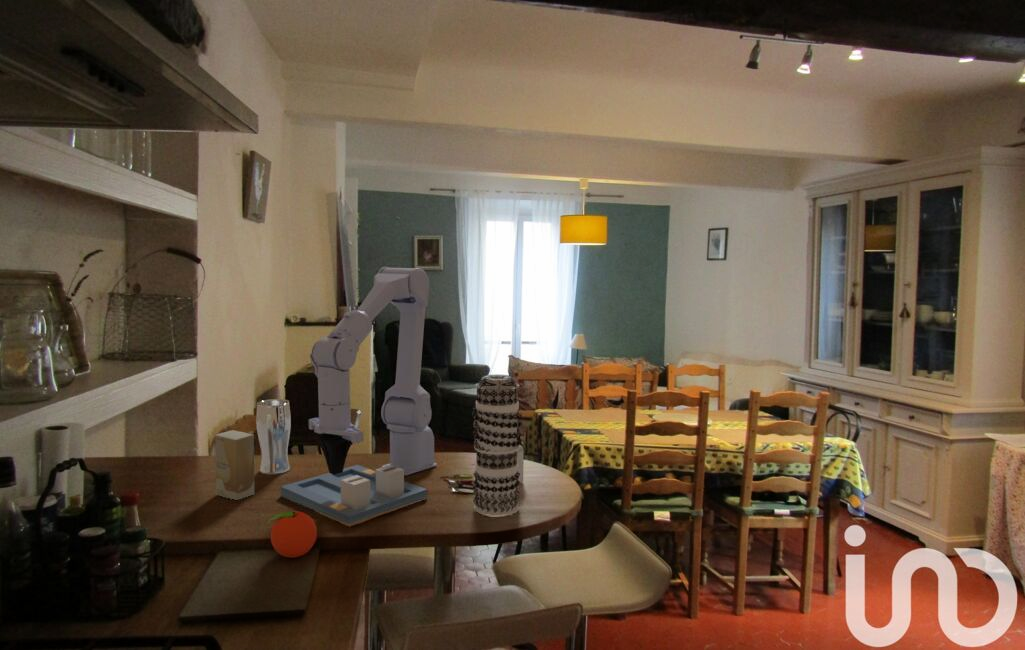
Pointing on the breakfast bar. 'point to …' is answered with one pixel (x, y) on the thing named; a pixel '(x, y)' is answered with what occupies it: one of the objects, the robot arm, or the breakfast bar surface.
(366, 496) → the white striped block
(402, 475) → the white block
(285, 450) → the beer glass
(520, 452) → the white rounded block
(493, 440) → the decorative candle
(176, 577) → the breakfast bar surface
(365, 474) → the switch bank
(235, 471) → the skincare box
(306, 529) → the clementine
